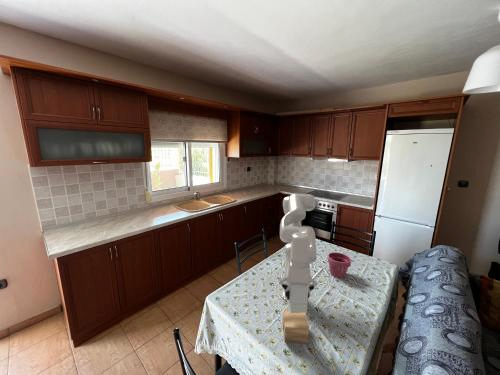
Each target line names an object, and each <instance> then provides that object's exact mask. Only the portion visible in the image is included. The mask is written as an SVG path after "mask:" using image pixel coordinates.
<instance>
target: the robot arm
mask: <svg viewBox="0 0 500 375" xmlns="http://www.w3.org/2000/svg"><path fill="white" fill-rule="evenodd" d="M282 207H283V213H284V216H283V217H282V218H281V220H280V224H279V238H280V240H281V241H282V242H283V243H285V245H284V246H283V256H284V269H283V270H284V271H283V272H284V274H283V277H282V278H280V279H279V280H278V283H279V285H280V286H281V289H280V297H281V298H282V299H283V300H284V301H286V302H287V300H289V289H290V285H291V284H294V285H308V287H309V289H308V299H310V293H312V291H313V290H314V289H315V287H317V285H318V281H317V280H315V279H314V278H312V277H311V266H310V264H312V263H315V262H316V260H317V258H318V257H317V241H316V232H315V230H314V228H313V227H312V226H309V225H307V226H306V225H302V221H303V220H305V219H306V215H307V214H306V213H307V212H311V211H314V210H315V207H316V198H315V196H314V195H312V194H311V193H310V194H309V193H293V194H291V195H289V196H286V197H284V198H283V200H282Z"/></svg>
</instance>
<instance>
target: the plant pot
mask: <svg viewBox="0 0 500 375" xmlns="http://www.w3.org/2000/svg"><path fill="white" fill-rule="evenodd" d="M327 262H328V266H329V267H328V268H329V272H330V275H331V276H334V277H333V278H335V277H336V279H340V278H341V279H344V278H345V277H346V275H347V272H348V269H349V268H350V267H351V264H352V259H351V257H350V256H348V255H347V254H344V253H342V252H336V251H334V252H329V253H328V254H327Z"/></svg>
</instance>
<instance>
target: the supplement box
mask: <svg viewBox="0 0 500 375" xmlns="http://www.w3.org/2000/svg"><path fill="white" fill-rule="evenodd" d="M308 289H309V287H308V285H294V284H291V285H290V289H289V300H287V301H286V303H287V305H288V308H289V309H288V310H290V313H306V314H307V313H308V301H309V298H308Z"/></svg>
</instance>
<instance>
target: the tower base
mask: <svg viewBox="0 0 500 375" xmlns="http://www.w3.org/2000/svg"><path fill="white" fill-rule="evenodd" d="M282 330H283V338H284V343H289V344H303V345H304V344H305V345H309V337H303V336H291V335H285V329H284V318H283V317H282Z"/></svg>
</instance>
